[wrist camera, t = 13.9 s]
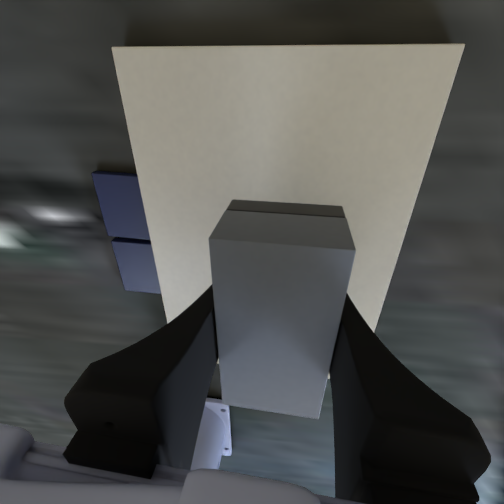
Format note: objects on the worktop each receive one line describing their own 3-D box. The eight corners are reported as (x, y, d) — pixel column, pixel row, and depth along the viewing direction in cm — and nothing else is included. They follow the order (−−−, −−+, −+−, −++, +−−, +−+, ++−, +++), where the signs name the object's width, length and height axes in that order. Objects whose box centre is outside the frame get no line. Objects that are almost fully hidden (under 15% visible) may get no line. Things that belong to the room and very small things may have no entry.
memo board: (356, 371, 22) (358, 383, 21) (178, 347, 24) (174, 357, 23) (454, 45, 11) (466, 43, 10) (123, 48, 13) (110, 46, 12)
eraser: (231, 198, 12) (207, 238, 9) (343, 205, 11) (356, 249, 8) (236, 346, 17) (222, 404, 14) (316, 356, 16) (318, 419, 13)
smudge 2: (156, 236, 18) (152, 240, 18) (112, 232, 19) (107, 235, 18) (145, 174, 16) (141, 176, 16) (96, 170, 16) (90, 172, 16)
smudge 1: (167, 290, 20) (164, 294, 20) (128, 286, 21) (124, 290, 20) (158, 241, 18) (154, 244, 18) (114, 237, 19) (110, 241, 18)
